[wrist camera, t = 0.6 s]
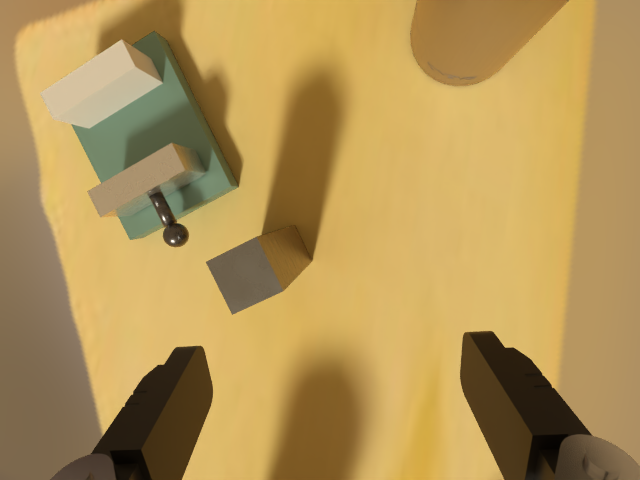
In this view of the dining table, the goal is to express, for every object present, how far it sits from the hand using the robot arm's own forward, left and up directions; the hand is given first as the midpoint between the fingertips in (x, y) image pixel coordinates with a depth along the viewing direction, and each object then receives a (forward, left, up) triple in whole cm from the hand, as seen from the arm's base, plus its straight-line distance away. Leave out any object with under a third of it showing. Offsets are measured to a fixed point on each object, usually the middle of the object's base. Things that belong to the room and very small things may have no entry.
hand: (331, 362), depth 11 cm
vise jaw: (+1, -18, -21) cm, 28 cm away
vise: (-4, -23, -24) cm, 34 cm away
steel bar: (+2, -7, -24) cm, 25 cm away
